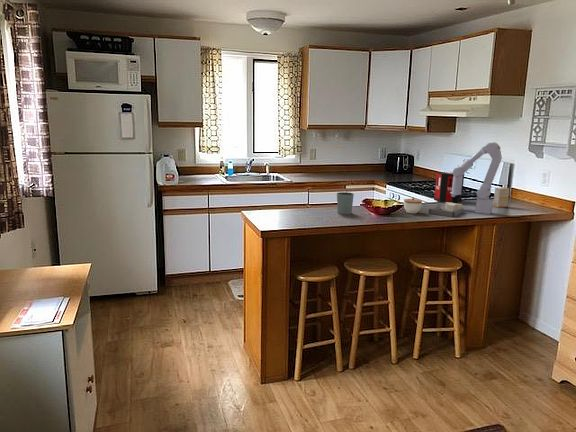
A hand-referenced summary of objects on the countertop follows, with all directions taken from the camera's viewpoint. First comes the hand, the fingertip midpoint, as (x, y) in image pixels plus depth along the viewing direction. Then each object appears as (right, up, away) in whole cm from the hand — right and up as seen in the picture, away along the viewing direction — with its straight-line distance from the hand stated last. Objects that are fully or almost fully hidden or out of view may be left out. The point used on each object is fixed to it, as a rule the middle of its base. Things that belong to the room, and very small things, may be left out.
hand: (454, 206), depth 315 cm
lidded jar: (-33, -4, -17) cm, 37 cm away
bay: (-11, -4, -15) cm, 19 cm away
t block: (-4, -2, -5) cm, 7 cm away
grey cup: (-76, -5, -25) cm, 80 cm away
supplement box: (+35, 0, +13) cm, 37 cm away
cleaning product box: (+5, +4, +30) cm, 30 cm away
